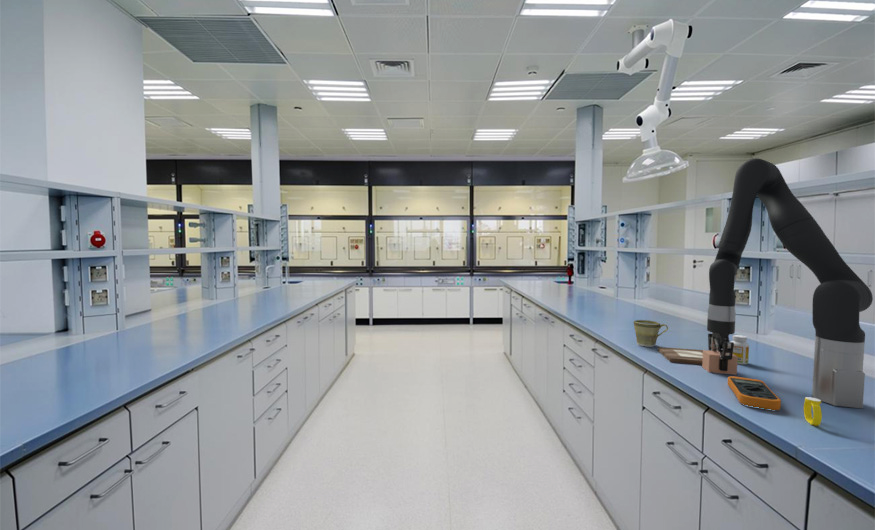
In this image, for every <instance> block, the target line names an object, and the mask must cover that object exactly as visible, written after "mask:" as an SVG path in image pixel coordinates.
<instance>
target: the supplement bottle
mask: <svg viewBox="0 0 875 530" xmlns="http://www.w3.org/2000/svg"><path fill="white" fill-rule="evenodd" d="M747 340H748V337H747V336H745V335H741V334H739V335H737V334H732V340H731V341H730V342H733V343H734V348H733V354H734V355H736V356H737V357H738V359H737V365H748V364H749V357H750V356H749V351H750V344H749V343H748V342H747Z"/></svg>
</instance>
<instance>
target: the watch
mask: <svg viewBox="0 0 875 530" xmlns="http://www.w3.org/2000/svg"><path fill="white" fill-rule="evenodd" d="M820 404H822V401H821V400H819V399H816V398H814V397H813V396H805V397H804V402H803V415H804V419H805V421H806V422H808V424H809V423H810V424H809V425H810V426H815V427H819V426H820V425H821V422H822V418H823V414H822V408H821V405H820ZM812 412H813V414H812Z"/></svg>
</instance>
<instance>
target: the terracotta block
mask: <svg viewBox="0 0 875 530" xmlns="http://www.w3.org/2000/svg"><path fill="white" fill-rule="evenodd" d="M702 350H703V361H702V368H703V370H705V371H706V370H707V372H708V373H711V372H713V373H714V374H722V375H723V374H724V375H725V374H726V375H736V376H737V375H738V364H737V359H738V357H737V356H736V355H734V354H733V355H732V360H728V370H727V371H721V370H719V353H718V352H717V351H705V350H706V349H702ZM725 356H726V354H725Z"/></svg>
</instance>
